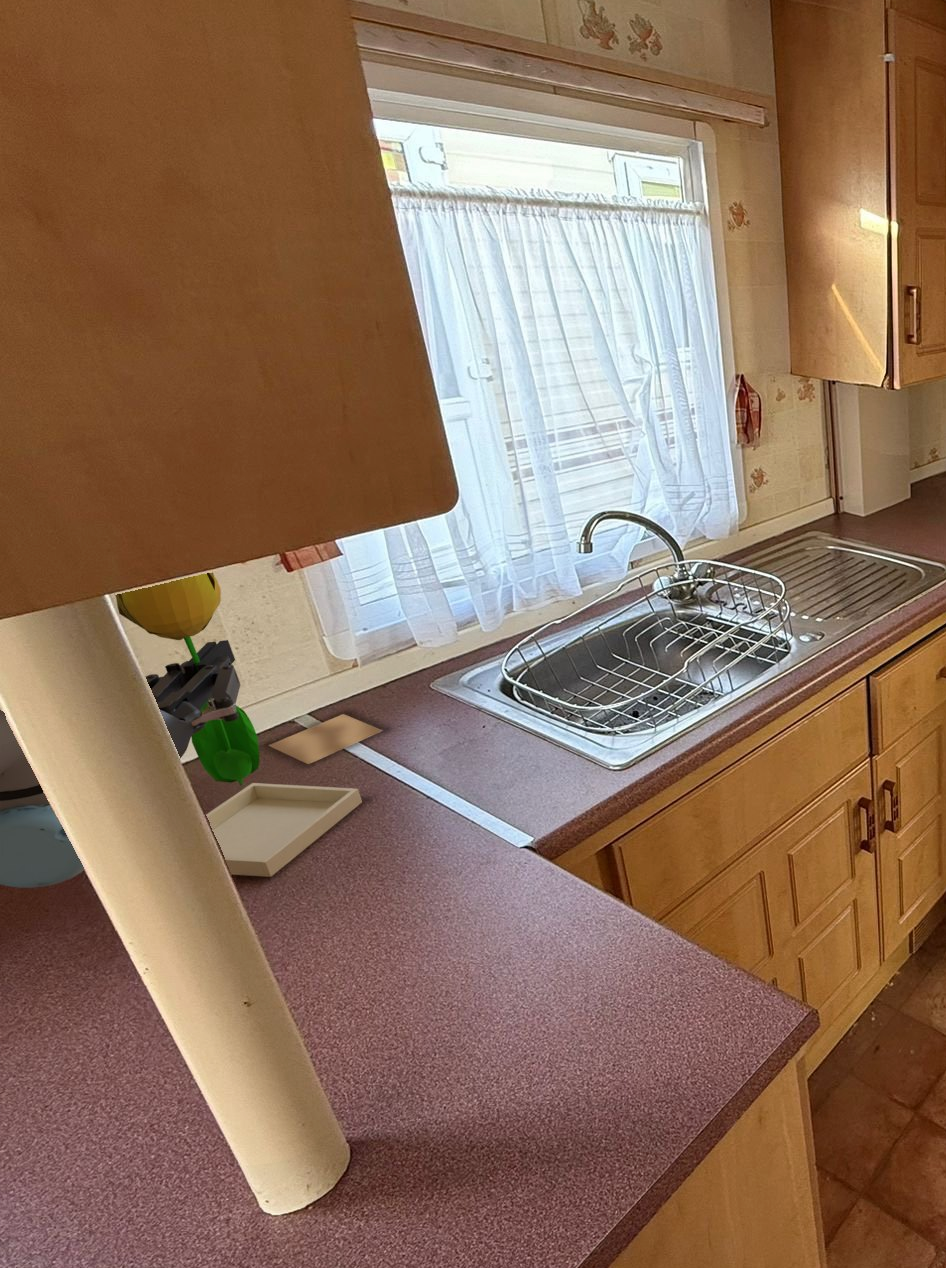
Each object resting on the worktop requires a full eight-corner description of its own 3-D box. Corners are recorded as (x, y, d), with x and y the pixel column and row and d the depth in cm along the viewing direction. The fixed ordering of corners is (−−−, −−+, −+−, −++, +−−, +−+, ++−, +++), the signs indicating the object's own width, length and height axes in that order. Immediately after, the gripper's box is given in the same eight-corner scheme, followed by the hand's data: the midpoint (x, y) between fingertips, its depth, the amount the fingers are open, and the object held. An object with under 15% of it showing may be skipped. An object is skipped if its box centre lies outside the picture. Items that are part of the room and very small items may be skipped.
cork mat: (309, 767, 119) (308, 764, 119) (268, 748, 123) (267, 745, 123) (384, 733, 128) (383, 730, 128) (344, 716, 132) (343, 713, 131)
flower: (287, 788, 103) (204, 557, 91) (196, 815, 97) (96, 573, 86) (282, 756, 108) (203, 535, 97) (196, 779, 103) (102, 549, 92)
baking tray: (153, 873, 100) (145, 855, 99) (258, 798, 113) (252, 782, 112) (272, 879, 99) (265, 862, 98) (363, 804, 112) (358, 788, 111)
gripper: (43, 803, 81) (159, 687, 101) (222, 775, 86) (300, 670, 106) (9, 736, 78) (136, 630, 98) (197, 711, 83) (282, 615, 103)
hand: (221, 651), depth 102 cm, fingers closed on flower
